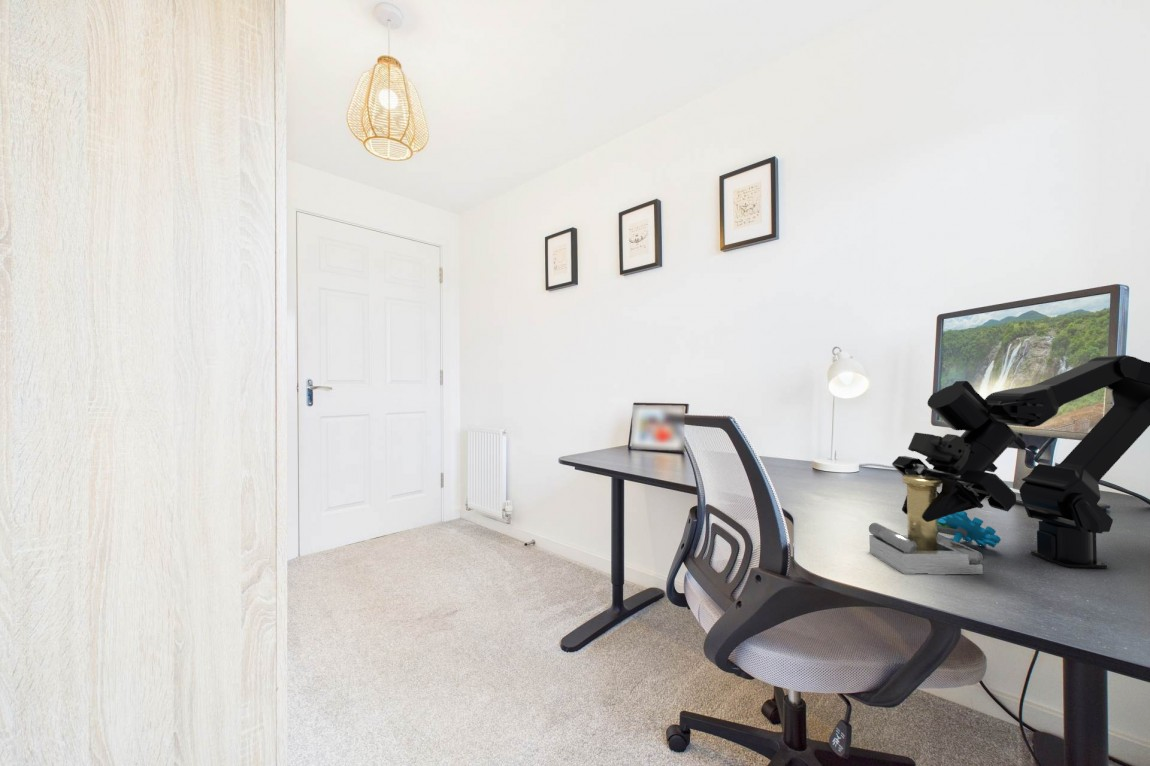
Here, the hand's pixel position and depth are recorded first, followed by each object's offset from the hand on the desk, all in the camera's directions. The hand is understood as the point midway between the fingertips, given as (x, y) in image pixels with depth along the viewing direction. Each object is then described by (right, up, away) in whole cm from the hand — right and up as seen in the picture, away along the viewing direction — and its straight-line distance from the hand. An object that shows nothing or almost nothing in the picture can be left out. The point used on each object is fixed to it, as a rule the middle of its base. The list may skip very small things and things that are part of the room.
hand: (914, 516), depth 75 cm
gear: (+15, -8, +8) cm, 19 cm away
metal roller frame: (+1, -8, 0) cm, 8 cm away
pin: (+1, -7, 0) cm, 7 cm away
